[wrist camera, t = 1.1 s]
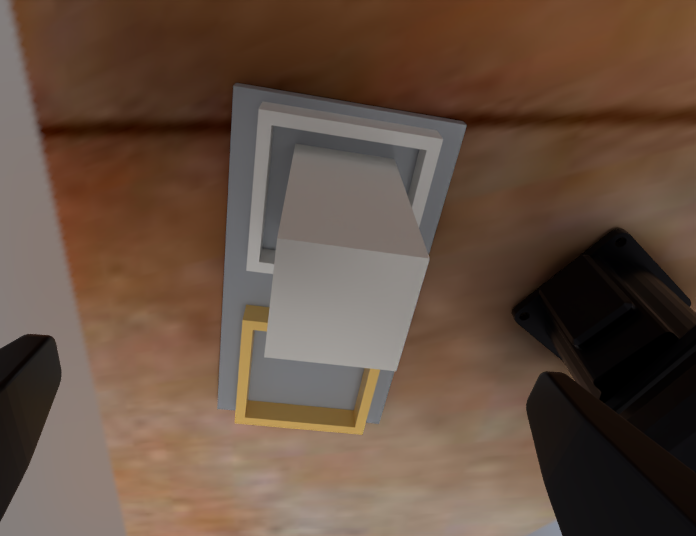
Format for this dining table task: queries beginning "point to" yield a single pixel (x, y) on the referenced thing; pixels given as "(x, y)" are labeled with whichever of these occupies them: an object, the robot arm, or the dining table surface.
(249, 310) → the socket panel
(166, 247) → the dining table surface
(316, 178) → the plug
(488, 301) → the dining table surface
